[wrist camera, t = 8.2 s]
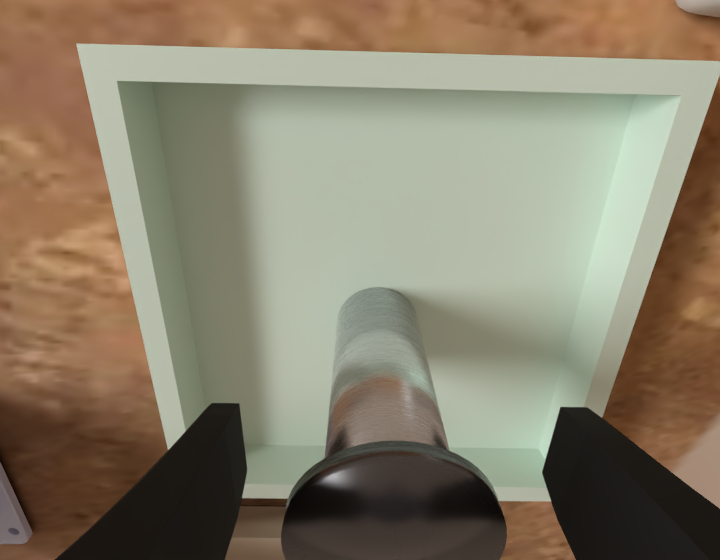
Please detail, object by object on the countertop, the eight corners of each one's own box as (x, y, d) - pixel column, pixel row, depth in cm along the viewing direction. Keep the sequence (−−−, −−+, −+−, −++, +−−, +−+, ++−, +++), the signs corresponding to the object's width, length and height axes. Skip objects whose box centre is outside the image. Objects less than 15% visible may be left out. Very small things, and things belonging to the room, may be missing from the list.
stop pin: (318, 267, 15) (275, 459, 7) (442, 271, 15) (527, 465, 7) (318, 369, 17) (284, 607, 9) (429, 372, 17) (486, 611, 9)
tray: (126, 50, 13) (76, 43, 10) (659, 64, 13) (724, 61, 11) (199, 448, 19) (178, 497, 17) (548, 453, 20) (573, 501, 17)
